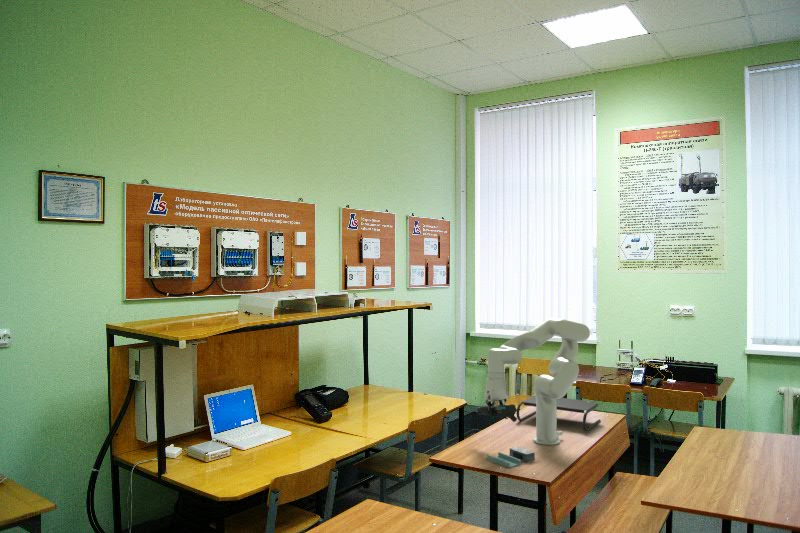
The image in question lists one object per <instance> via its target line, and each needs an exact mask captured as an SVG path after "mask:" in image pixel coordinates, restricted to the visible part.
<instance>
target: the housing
mask: <svg viewBox="0 0 800 533" xmlns="http://www.w3.org/2000/svg"><path fill="white" fill-rule="evenodd" d="M535 453H536V452H535V451H531V450H529V449H526V448H523V447H520V446H515V447H511V448H509V456H511V457H514V458H517V459H519V460H521V462H524V463H530V462H531V463H532V462H534V461H535V460H536V454H535Z"/></svg>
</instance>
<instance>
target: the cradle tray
mask: <svg viewBox="0 0 800 533" xmlns="http://www.w3.org/2000/svg"><path fill="white" fill-rule="evenodd" d="M486 461H489V462H492V463H494V464H496V465H499V466H501V467H505V468H507V469H510V468H515V467H517V466H521V465H522V461H521V460H519V459H517V458H514V457H511V456H510V454H509V455H508V454H505V453H502V452H501V451H498V452H497V456H492V455H489V454H487V455H486Z"/></svg>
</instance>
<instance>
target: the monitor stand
mask: <svg viewBox="0 0 800 533" xmlns="http://www.w3.org/2000/svg"><path fill="white" fill-rule="evenodd" d="M556 404H557V411H565V412H571V413H572V412H573V413H580V414H583V418H582V427H583V430H584V432H589V431H591V430H592V429H593V428H595V426H597V425H599V423H601V419H598V420H596V421H595V422H593V423H592V424H591V425H589V426H588V427H587V418H588V417H587V416H588V415H589V414H590V412H592V411H593V410H595V409H596V408H598V407H599V403H597V402H596V401H591V400H583V399H575V398H568V397H562V398H560V399H556ZM522 405H523V406H526V407H527V406H528V407H534V408H535V407H536V395H533V396H530V397H528V398H526V399H524V400H522V401H520V402H519V403H518V405H517V406H516V418H517V420H518V422H523V421H525V420H528V419H529V418H531V417H532V416H536V410H534V411H533V412H531V413H529V414H528V415H525V416H524V417H521V416H520V409H521V406H522Z"/></svg>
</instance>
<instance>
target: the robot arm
mask: <svg viewBox="0 0 800 533" xmlns="http://www.w3.org/2000/svg"><path fill="white" fill-rule="evenodd" d="M590 334H591V331H590V329H589V327H588V326H587V325H586V324H584V323H580V322H575V321H571V320H567V319H564V318H559V317H558V318H556V317H548V318H546V319H544V320H543V321H542V322H540V323H539V324H538V325H536V326H534V327H533V328H532V329H530V330H528V332H527V331H526V332H525V333H522V334H519V335H517V336H515V337H513V338H510V339H509V340H507V341H505V342H504V343H503V344H501V345H500V346H499V347H498V348H497V347H496V348H494V347H493V348H489V349H488V350H487V378H486V381H485V386H484V387H485V389H484V399H483V402H484V403H486V406H488V407H489V415H488V416H491V417H496V416H495V408H494V406H495V402H498V405H506V403H507V401H508V399H509V397H510V396H509V395H508V392H507V382H506V377H505V375H506V372H505V365H517V364H519V363H520V362H521V361H522V360H523V354H522V352H521V351H524V350H525V351H526V350H531V349H536V348H539V347H541V346H542V345H543V344H545V343H546V342H548V341H549V340H550V339H552V338H554V337H558V338H561V345H560V348H559V350H557V352H556V354H555V355H554V357H553V358H552V360H551V361H550V362H549V364H548V372H549V374H551V375H549V374H540V375H538V376H537V377H535V380H534V382H533V386H534V393H535V395H536V408H535V411H536V414H535V417H536V418H535V422H536V423H535V426H536V429H535V433H536V434H535V436H533V438H532V440H533V442H534V443H536V444H539V445H543V446H545V445H546V446H554V445H559V444H560V443H561V439H560V438H559V436H563V434H564V431H562V430H559V431H558V425H557V423H558V420H557V419H558V418H557V416H558V414H557V412H558V410H557V404H556V399H560V398H565V396H566V395H567V394H568V392H569V391H570V390H571V387H572V386H573V384H574V383H575V381H576V380H577V378H578V376H579V373H580V367H579V364H578V363H577V362H576V361H575V360H576V358H577V356H578V354H579V344H578V343H579V342H581V343H582V342H586V341H587V340H588V339H589V338H590ZM535 395H534V396H535Z"/></svg>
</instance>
